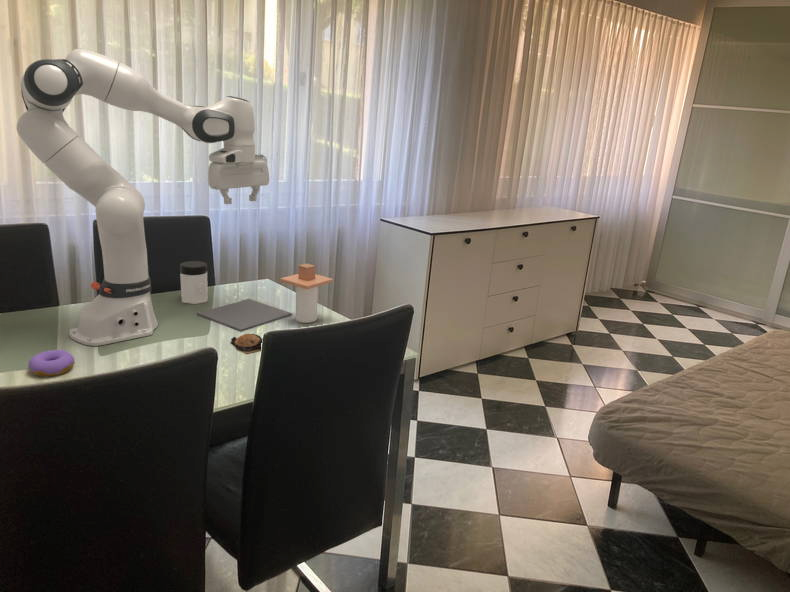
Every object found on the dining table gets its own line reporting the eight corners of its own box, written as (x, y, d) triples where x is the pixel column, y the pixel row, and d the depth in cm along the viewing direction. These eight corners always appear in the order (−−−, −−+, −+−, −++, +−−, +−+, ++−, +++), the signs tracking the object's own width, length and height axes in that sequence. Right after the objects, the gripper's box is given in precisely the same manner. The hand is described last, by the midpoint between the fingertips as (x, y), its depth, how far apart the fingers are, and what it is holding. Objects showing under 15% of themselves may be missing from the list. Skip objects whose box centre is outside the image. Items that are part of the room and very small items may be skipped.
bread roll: (273, 350, 163) (273, 337, 162) (243, 357, 158) (243, 343, 157) (255, 337, 171) (255, 325, 170) (226, 343, 166) (226, 330, 164)
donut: (27, 363, 145) (29, 344, 144) (70, 365, 150) (73, 346, 149) (27, 380, 137) (30, 360, 136) (74, 381, 142) (77, 362, 141)
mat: (240, 331, 173) (240, 329, 173) (197, 314, 184) (197, 312, 184) (292, 315, 188) (292, 313, 188) (249, 300, 200) (249, 298, 199)
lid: (307, 289, 174) (307, 272, 173) (280, 281, 180) (280, 265, 179) (333, 282, 183) (333, 266, 181) (306, 274, 189) (306, 259, 187)
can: (306, 325, 181) (306, 286, 177) (291, 319, 184) (291, 281, 181) (321, 320, 186) (322, 282, 182) (306, 314, 189) (306, 277, 186)
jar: (187, 306, 191) (186, 268, 188) (176, 299, 197) (174, 263, 193) (214, 300, 197) (212, 264, 194) (202, 294, 203) (200, 259, 199)
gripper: (259, 153, 188) (260, 198, 193) (203, 155, 173) (205, 204, 177) (273, 155, 185) (274, 200, 189) (218, 157, 169) (219, 207, 173)
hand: (240, 202), depth 183 cm, fingers open, 8 cm apart
